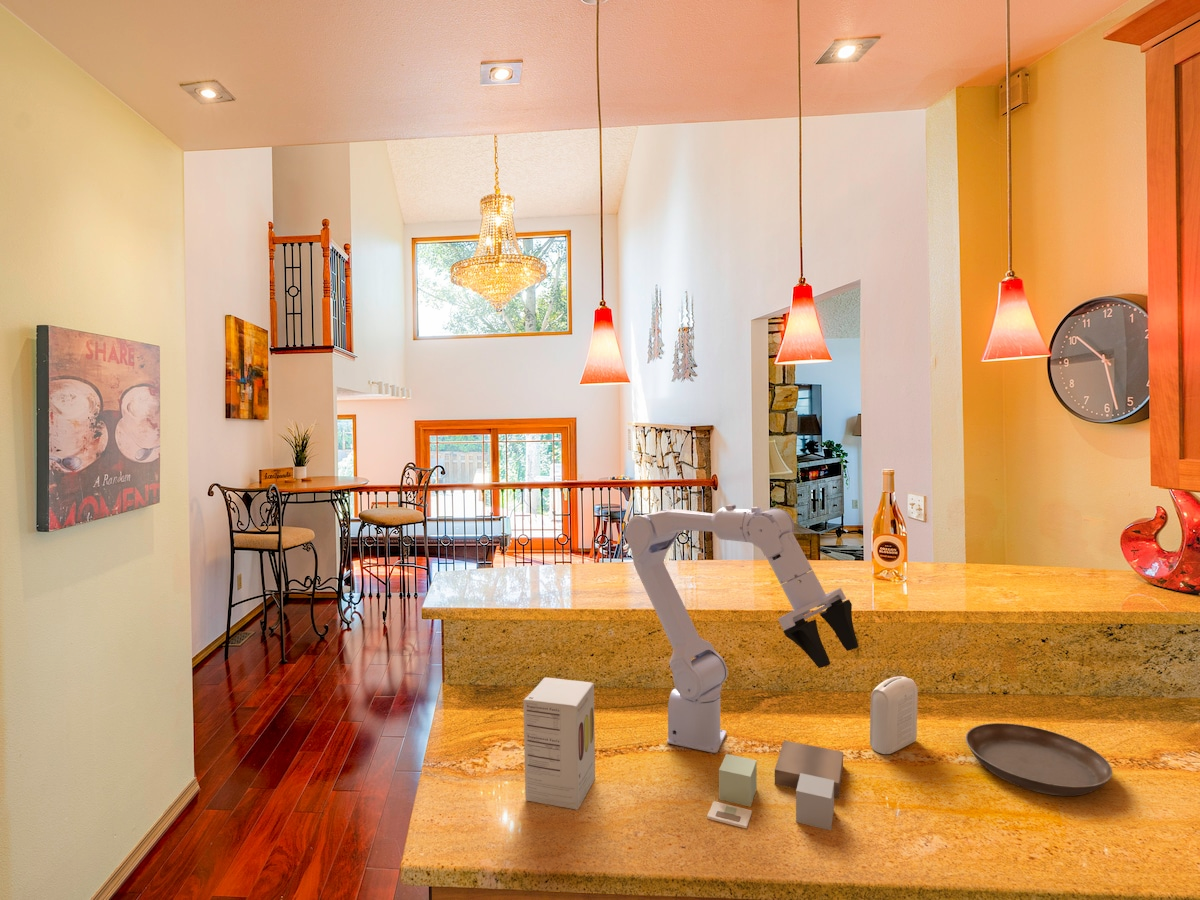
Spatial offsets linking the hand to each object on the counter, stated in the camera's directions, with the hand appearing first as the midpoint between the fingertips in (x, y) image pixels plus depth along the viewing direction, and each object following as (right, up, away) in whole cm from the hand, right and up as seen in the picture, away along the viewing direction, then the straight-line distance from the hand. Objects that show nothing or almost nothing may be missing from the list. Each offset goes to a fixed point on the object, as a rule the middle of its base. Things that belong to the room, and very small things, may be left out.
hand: (839, 657), depth 101 cm
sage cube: (-15, -23, +3) cm, 28 cm away
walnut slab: (-2, -23, +8) cm, 24 cm away
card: (-18, -23, -3) cm, 30 cm away
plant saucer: (+37, -22, +9) cm, 44 cm away
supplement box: (-44, -24, +5) cm, 50 cm away
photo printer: (+16, -22, +17) cm, 32 cm away
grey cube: (-5, -23, -3) cm, 24 cm away
